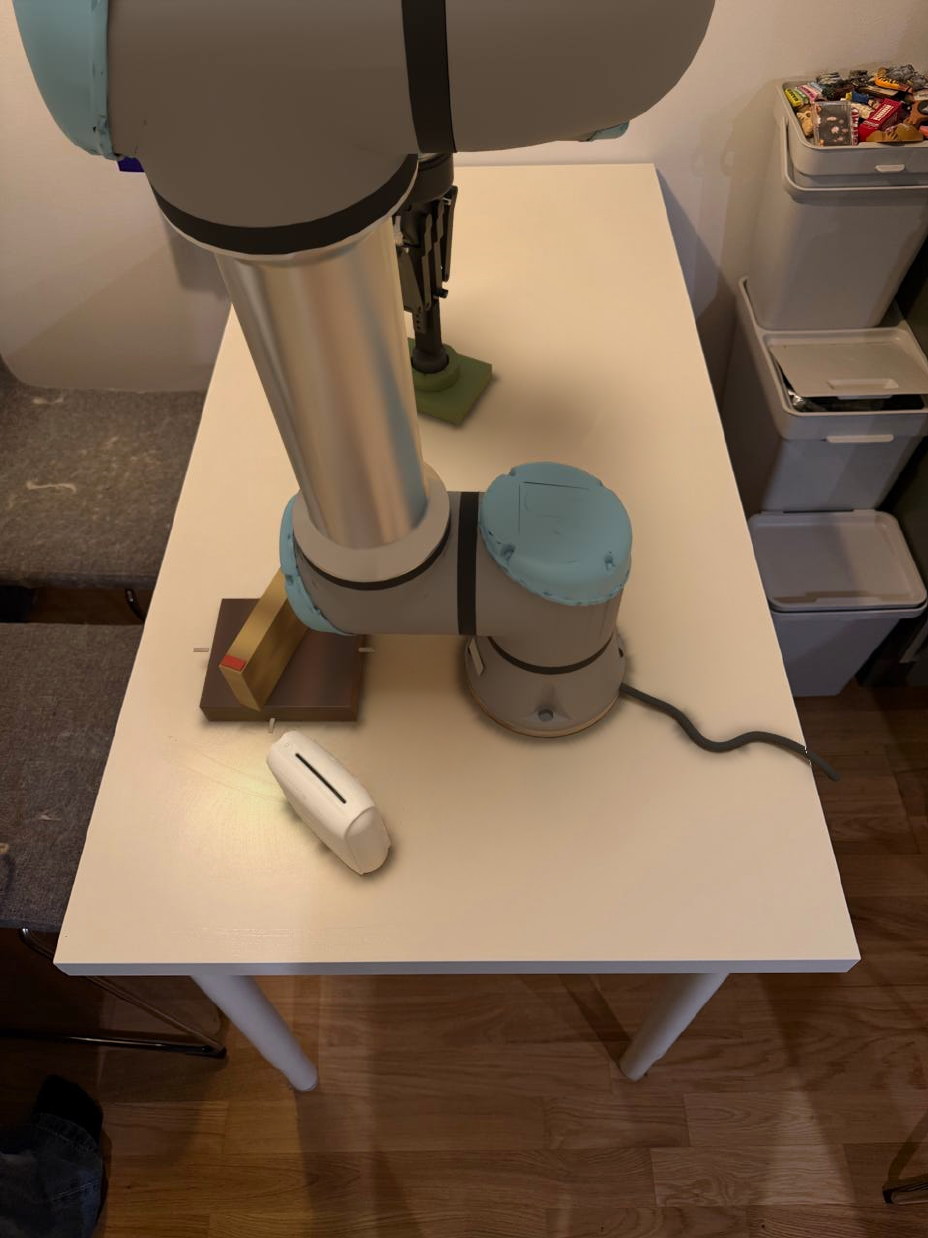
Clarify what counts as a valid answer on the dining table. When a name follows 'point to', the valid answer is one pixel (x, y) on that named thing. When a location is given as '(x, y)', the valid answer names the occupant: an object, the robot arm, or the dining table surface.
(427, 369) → the button
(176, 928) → the dining table surface
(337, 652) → the panel
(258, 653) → the golden wooden board
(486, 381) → the button block
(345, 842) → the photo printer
